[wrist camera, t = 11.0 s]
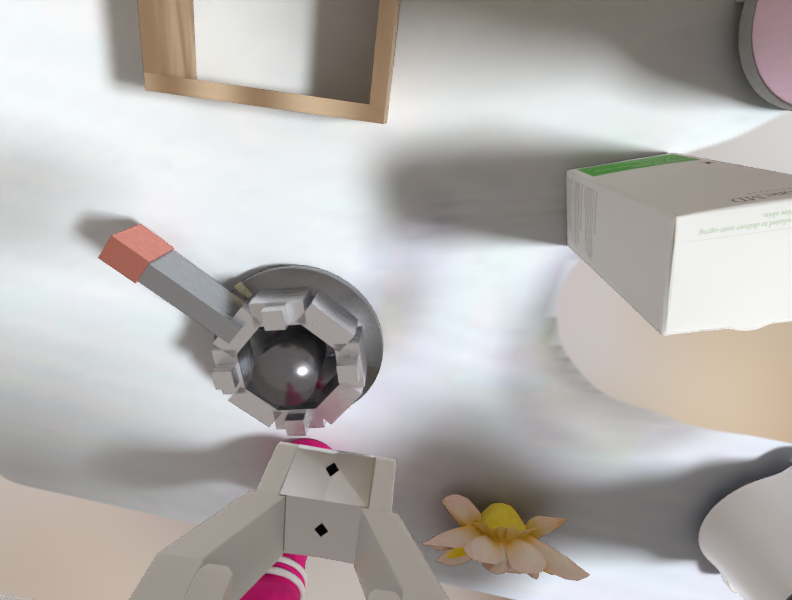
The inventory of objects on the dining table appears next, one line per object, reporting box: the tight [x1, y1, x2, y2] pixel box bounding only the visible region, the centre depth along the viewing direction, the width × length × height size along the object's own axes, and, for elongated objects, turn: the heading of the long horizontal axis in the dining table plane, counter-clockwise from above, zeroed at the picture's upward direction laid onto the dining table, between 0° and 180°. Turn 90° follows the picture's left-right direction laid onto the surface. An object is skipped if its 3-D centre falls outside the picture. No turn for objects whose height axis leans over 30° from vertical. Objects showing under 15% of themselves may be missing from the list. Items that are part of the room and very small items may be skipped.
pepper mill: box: [240, 439, 332, 600], centre depth 36 cm, size 7×7×20 cm
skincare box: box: [566, 153, 792, 336], centre depth 27 cm, size 8×7×16 cm
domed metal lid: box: [215, 265, 383, 406], centre depth 37 cm, size 15×15×6 cm
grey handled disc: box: [98, 224, 367, 436], centre depth 35 cm, size 22×12×4 cm, turn 49°
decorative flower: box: [422, 494, 589, 581], centre depth 43 cm, size 15×11×10 cm
